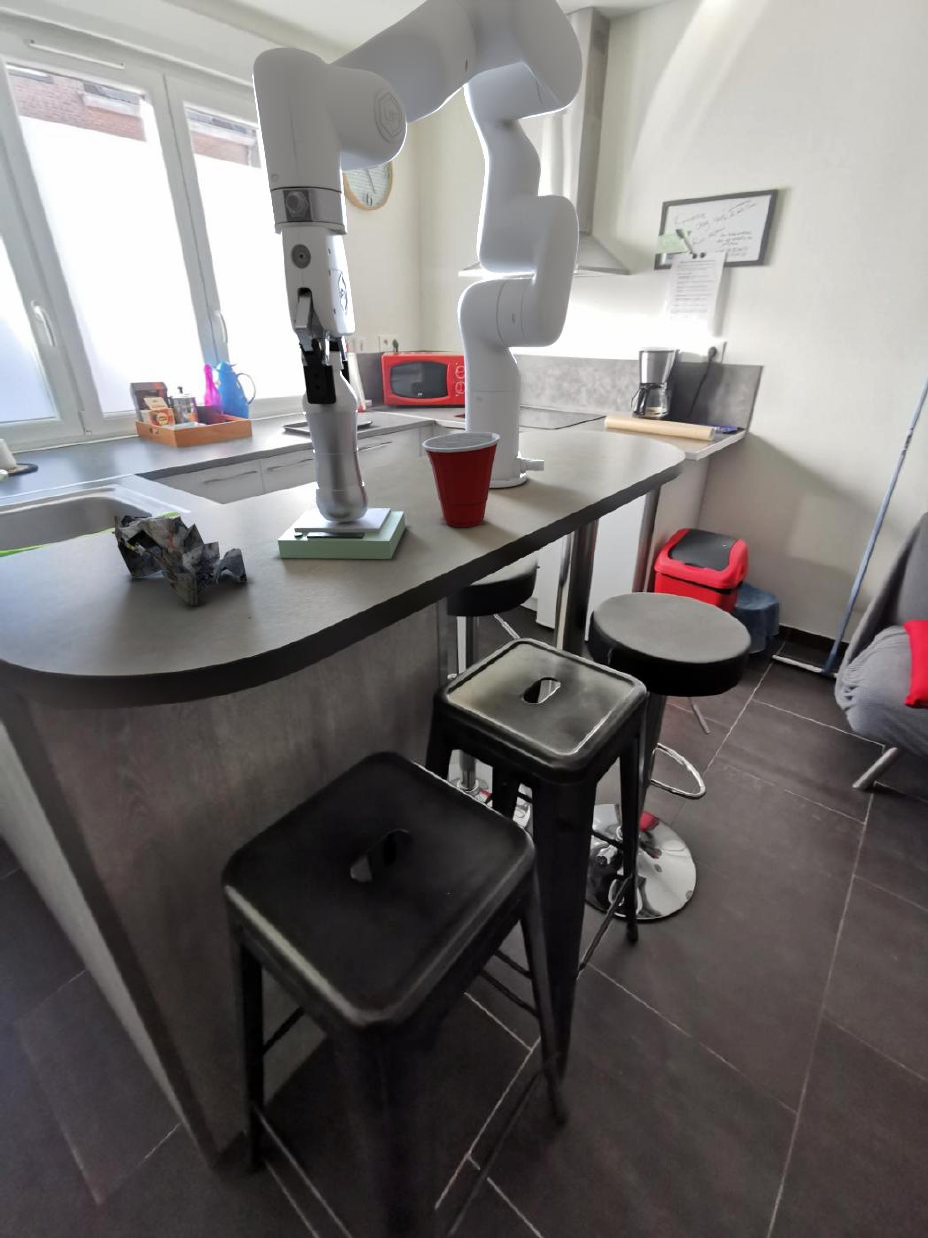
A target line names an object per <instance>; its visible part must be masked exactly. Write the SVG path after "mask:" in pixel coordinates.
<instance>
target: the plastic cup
mask: <svg viewBox="0 0 928 1238" xmlns="http://www.w3.org/2000/svg"><path fill="white" fill-rule="evenodd" d="M499 439H500V435H498V434H495V433H489V432H466V431H465V432H456V433H455V432H454V433H450V434H443V435H439V436H435V437H431V438H429V439H426V440H424V441H423V442H422V444H421V446H422V448H423V449H424V450H425V452H426V454H427V457H428V459H429V463H430V465H431V469H432V474H433V478H434V483H435V487H436V488H435V489H436V492H437V497H438V500H439V503H440V508H441V515H442V519H443V521H444V523H445V524H446V525H448V526H451V527H454V528H455V527H456V528H469V527H470V528H471V527H476V526H479V525H481V524H482V523H483V522H484V518H485V514H486V507H487V501H488V499H489V493H490V488H489V487H490V480H491V474H492V467H493V462H494V457H495V452H496V447H497V443H498V442H499Z"/></svg>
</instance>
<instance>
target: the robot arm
mask: <svg viewBox="0 0 928 1238" xmlns="http://www.w3.org/2000/svg"><path fill="white" fill-rule="evenodd" d="M572 25H573V24H571V22H570V21H569V19H568V17H567V15H566V14H565V13H564V11H563V9H562V7H561V6H560V5H559V3H558V1H557V0H425V1H424V2H423V3H421V4H419V6H418V7H416V8H415V9H414V10H412V11H411V12H409V13H408V14H406V15H405V16H404V17H402V18H401V19H400V20H398V21H397V22H395V23H393V24H392V25H390V26H388V27H387V28H385V29H383V30H381V31H380V32H378V33H376V34H375V35H374V36H371V38H369V39H368V40H366V41H365V42H364V43H362V44H360V45H359V46H358V47H356V48H354V49H352V50H351V51H349V52H348V53H346V54H344V55H342V56H340V57H339V58H338V59H336V60H334V61H332V62H331V63H326V62H325V61H324V60H323V59H322V58H321V57H320V56H319V55H317V54H315V53H313V52H311V51H308V50H304V49H302V48H301V49H300V48H297V47H296V48H295V47H273V48H270V49H267V50H264V51H262V52H260V53H259V54H258V55H257V56H256V58H255V60H254V61H253V65H252V84H253V91H254V96H255V97H254V98H255V105H256V111H257V119H258V120H257V121H258V126H259V127H258V128H259V134H260V141H261V149H262V155H263V162H264V169H265V177H266V182H267V191H268V196H269V203H270V210H271V211H270V212H271V216H272V217H271V218H272V224H273V225H272V226H273V232H274V234H277V235H280V236H281V249H282V250H281V251H282V263H283V274H284V282H285V283H284V284H285V292H286V300H287V307H288V313H289V320H290V324H291V328H292V331H293V333H294V334H295V335H296V337H297V339H298V341H299V342H298V346H299V349H300V356H301V357H300V360H301V364H302V370H303V378H304V384H305V388H306V393H307V400H308V403H309V404H334V403H336V391H335V382H334V373H333V365H329V351H336V352H341V359H342V364H343V369H341V374H342V376H343V377H344V378H345V380H346V381H347V382H348V383H349V385H350V386H351V378H350V369H349V360H348V349H347V346H346V345H347V344H346V343H347V342H346V338H345V337H349V336H352V335H353V334H354V332H355V330H356V324H355V323H356V322H355V316H354V315H355V314H354V308H353V301H352V293H351V284H350V278H349V271H348V263H347V258H346V252H345V247H344V243H343V238H342V236H346V235H347V234H348V225H347V216H346V205H345V204H346V203H345V195H344V183H343V173H347V172H352V171H360V170H366V169H371V168H376V167H380V166H383V165H385V164H388V163H389V162H391V161H392V160H393V159H395V158H396V157H397V156H399V154H400V153H401V150H402V149H403V147H404V144H405V141H406V137H407V130H408V125H410V124H413V123H415V122H418V121H420V120H421V119H423V118H426V117H428V116H430V115H432V114H433V113H435V112H437V111H438V110H440V109H441V108H442V107H443V106H444V105H445V104H446V103H447V102H449V100H450V99H452V97H453V96H454V95H456V94H457V93H458V92H459V91H460V90H461V89H462V88H463V91H464V97H465V101H466V105H467V108H468V112H469V113H470V116H471V118H472V121H473V124H474V127H475V130H476V132H477V135H478V138H479V141H480V144H481V148H482V152H483V156H484V159H485V160H484V162H485V172H484V184H483V191H482V199H481V207H480V214H479V221H478V223H479V224H478V230H477V240H476V241H477V242H476V254H477V258H478V259H477V260H478V262H479V264H480V265H481V267H482V268H483V269H485V270H486V271H487V272H491V273H497V274H521V273H522V274H523V273H534V276H533V277H519V278H518V277H517V278H514V277H511V278H510V277H509V278H495V279H494V278H493V279H484V280H483V279H482V280H479V281H476V282H474V283H472V284H470V285H469V286H468V287H467V288H465V289H464V291H463V292H462V294H461V296H460V298H459V301H458V305H457V321H458V329H459V332H460V338H461V343H462V351H463V362H464V363H463V364H464V409H465V410H464V412H465V413H464V415H465V417H464V420H465V423H464V424H465V425H464V426H465V429H464V431H465V433H466V432H489V433H495V434H498V435H500V439H499V442H498V443H497V447H496V452H495V457H494V462H493V467H492V474H491V480H490V487H489V489H500V488H509V487H511V488H512V487H515V486H519V485H522V484H523V483H525V482H526V481H527V471H528V472H529V471H530V472H531V471H533V472H544V471H545V460H544V459H543V460H542V459H537V458H524V457H522V456H521V451H519V450H520V449H519V448H520V421H521V420H520V419H521V392H522V391H521V389H522V388H521V387H522V375H521V370H520V367H519V364H518V361H517V360H516V358H515V356H514V354H513V353H512V350H511V348H544V347H549V346H552V345H554V344H555V343H556V342H558V340H559V339H560V337H561V335H562V333H563V330H564V327H565V323H566V319H567V315H568V308H569V303H570V296H571V291H572V285H573V279H574V275H575V268H576V262H577V257H578V249H579V240H580V225H579V217H578V213H577V210H576V206H575V205H574V203H573V202H572V200H570V199H569V198H568V197H566V196H564V195H561V194H544V195H543V194H542V195H540V194H539V193H540V184H541V177H542V164H541V159H540V157H539V154H538V151H537V149H536V147H535V146H534V144H533V142H532V140H531V139H530V138H529V136H528V135H527V133H526V132H525V130H524V128H523V126H522V124H521V123H520V120H523V119H529V118H533V117H537V116H542V115H543V116H544V115H547V114H553V113H556V112H560V111H562V110H565V109H566V108H568V107H569V106H570V105H571V104H572V103H573V102H574V100H575V99H576V98H577V95H578V93H579V90H580V88H581V84H582V80H583V55H582V50H581V46H580V41H579V39H578V36H577V33H576V32H575V29H574V28H573V26H572Z"/></svg>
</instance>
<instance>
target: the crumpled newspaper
mask: <svg viewBox="0 0 928 1238" xmlns="http://www.w3.org/2000/svg"><path fill="white" fill-rule="evenodd" d="M113 517H114V531H111V534H112V535H114V537H115V539H116V541H117V548H118V551H119V553H120V556H121V558H122V559H123V561H124V564H125V566H126V568H127V570H128V572H129V574H130V576H131V578H132V579H133V578H134V577H135V578H146V577H148V576H150V575H153V574H156V573H159V572H161V574H162V575H163V579H164V580H165V581H166V583H167V584H168V585H169V586H170V588H171V589H172V590H173V591H174V593H176V594H177V595H178V596H179V597H180V598H181V599H182V601H183V602H185V604H187V605H189V606H191V607H196V606H197V605H198V603H199V599H198V598H199V594H200V591H201V590H203V589H205V588H206V586H210V585H211V584H212V583H213V582H214V581H215V583H216V584H217V585H219V582H218V580H220V578H221V577H222V573H223V572H225V571H227V570H228V571H229V572H231V573H232V574H233V575H234V576H235V577H239V579H238V583H241V582H246V583H247V582H248V578H247V571H246V568H245V567H246V566H245V562H244V557H243V554H242V550H241V548H236V547H232V548H231V549H229V550H228V551H226V552H225V554H224V555H223V557H222V558H221V555H220V546H219V541H214V542H207V543H205V542H204V540H203V538H202V536H201V534H200V531H199V529H198V527H197V525H196V523H194V522H193V521H191V520H190V522H193V524H192V525H190V527H188V526H187V525H186V524H185V523H184V522H183V520H182V518H184V519H186V517H185V516H183V515H179V516H176V517H165V515H163V516H132V515H127V514H125V515H124V517H123V518H122V519H120V516H118V515H116V516H113ZM181 517H182V518H181Z"/></svg>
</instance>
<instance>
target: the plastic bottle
mask: <svg viewBox="0 0 928 1238" xmlns="http://www.w3.org/2000/svg"><path fill="white" fill-rule="evenodd" d="M329 365H333V373H334V382H335V391H336V403H334V404H309V403H308V400H307V393H306V387H304V390H303V392H302V398H301V405H302V409H303V414H304V417H305V420H306V424H307V427H308V430H309V431H308V432H309V435H310V439H311V444H312V448H313V454H314V463H315V476H316V477H315V478H316V487H315V503H316V507H317V508H318V509H319V512H320V514H321V515H322V516H323V517H324V519H326V520H329V521H334V522H346V521H353V520H357V519H360V518H362V517H364V516H365V514H366V512H367V510H368V508H369V494H368V491H367V487H366V484H365V482H364V478H363V472H362V467H361V461H360V457H359V456H360V455H359V448H358V444H359V442H358V415H359V414H358V412H359V411H358V409H359V405H358V404H359V403H358V402H359V401H358V398H357V395H356V392H355V390H354V389H353V387H352V386H351V384H350V385H349V383H348V382H347V381H346V380H345V378H344V377H343V376H342V374H341V369H343V364H342V359H341V352H336V351H329Z"/></svg>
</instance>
